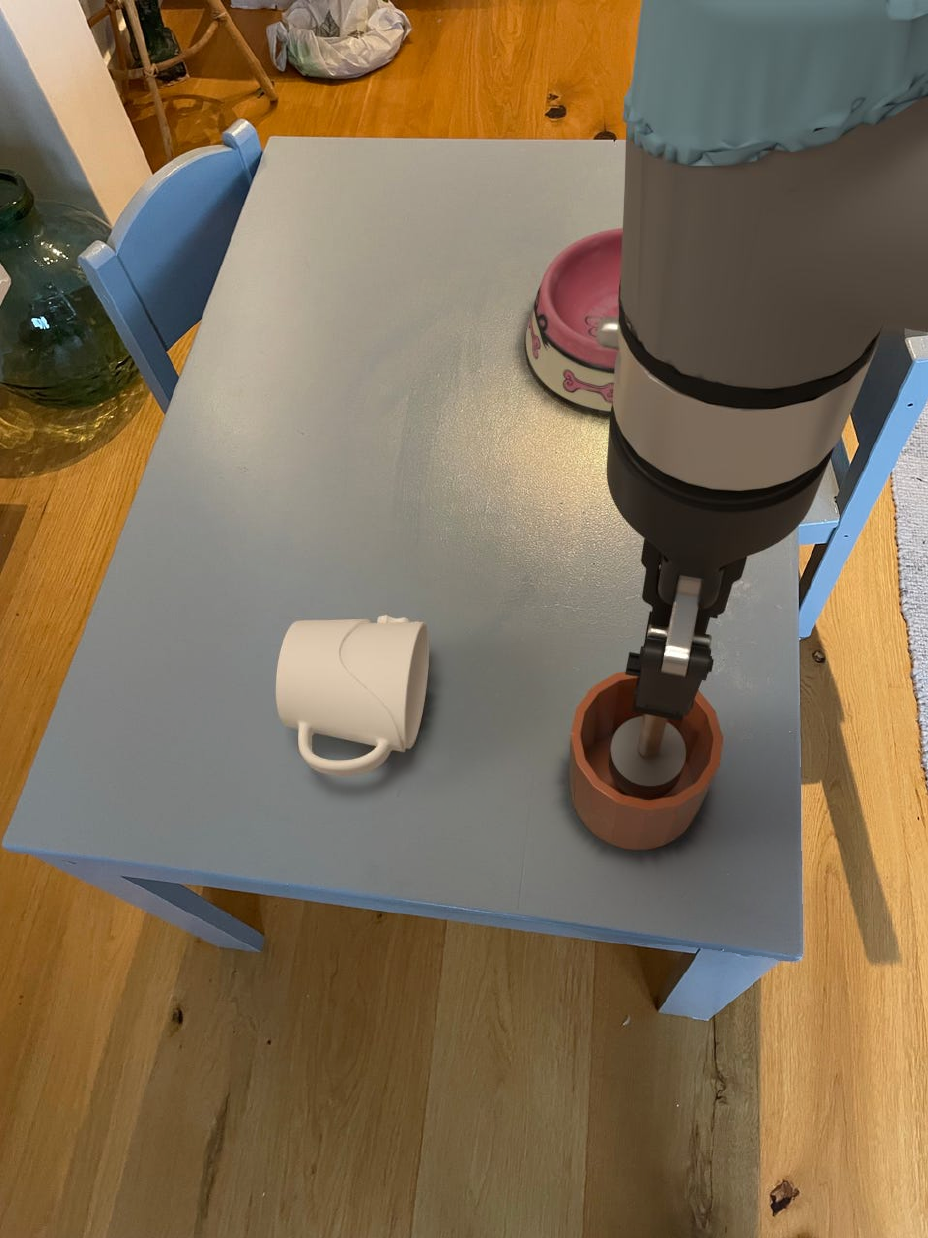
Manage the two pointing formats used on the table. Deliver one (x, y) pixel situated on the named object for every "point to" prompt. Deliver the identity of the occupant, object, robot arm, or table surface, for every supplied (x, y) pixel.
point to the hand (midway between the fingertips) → (660, 692)
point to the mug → (353, 686)
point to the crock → (604, 800)
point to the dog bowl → (577, 323)
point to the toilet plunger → (646, 757)
